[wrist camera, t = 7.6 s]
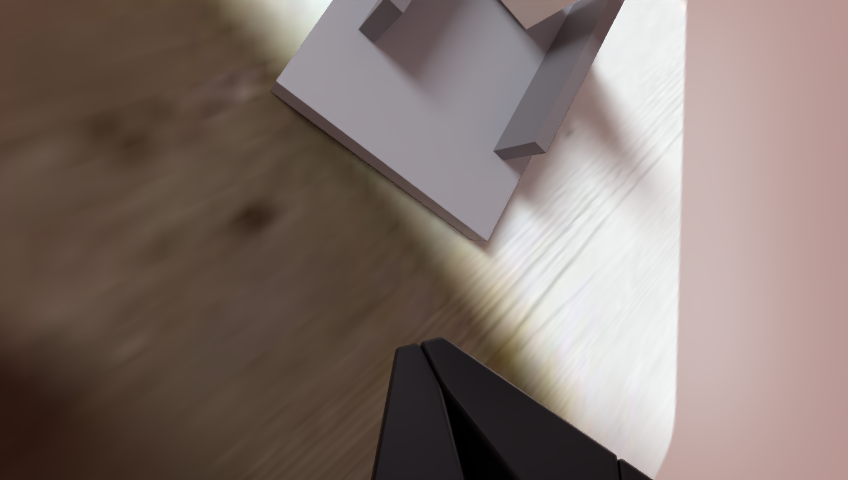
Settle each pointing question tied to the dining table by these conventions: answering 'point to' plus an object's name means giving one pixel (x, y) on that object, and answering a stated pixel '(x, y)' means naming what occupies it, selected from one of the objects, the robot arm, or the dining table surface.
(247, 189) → the dining table surface
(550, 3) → the block
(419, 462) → the robot arm
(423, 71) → the grey walled base plate
